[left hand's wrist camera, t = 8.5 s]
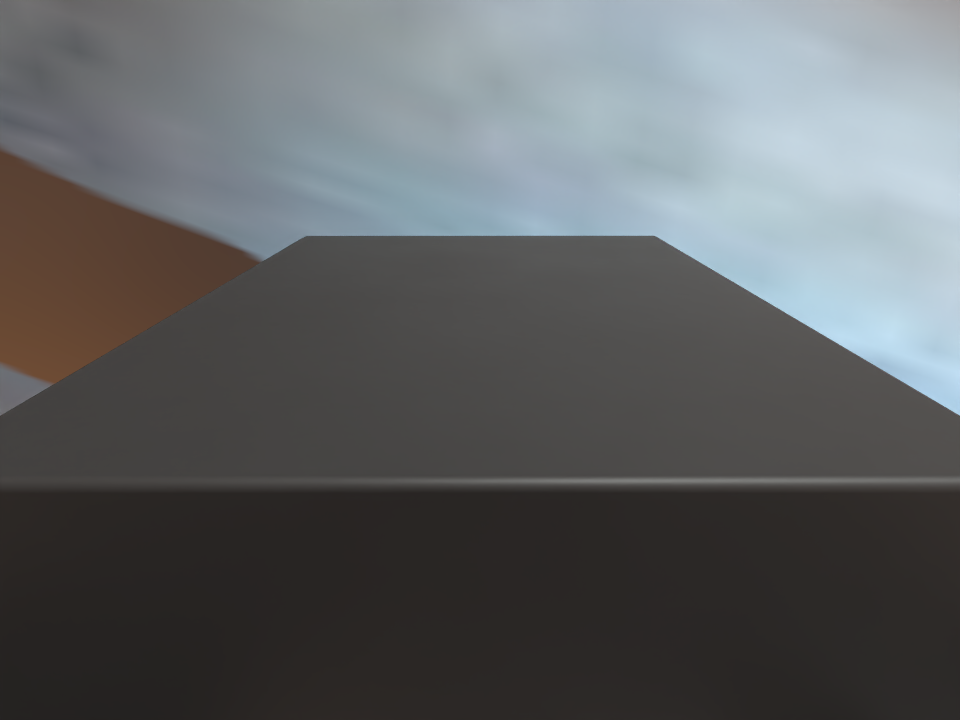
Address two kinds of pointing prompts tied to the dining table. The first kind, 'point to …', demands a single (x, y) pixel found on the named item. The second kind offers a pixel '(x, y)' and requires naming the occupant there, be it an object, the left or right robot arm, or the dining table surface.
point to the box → (480, 502)
